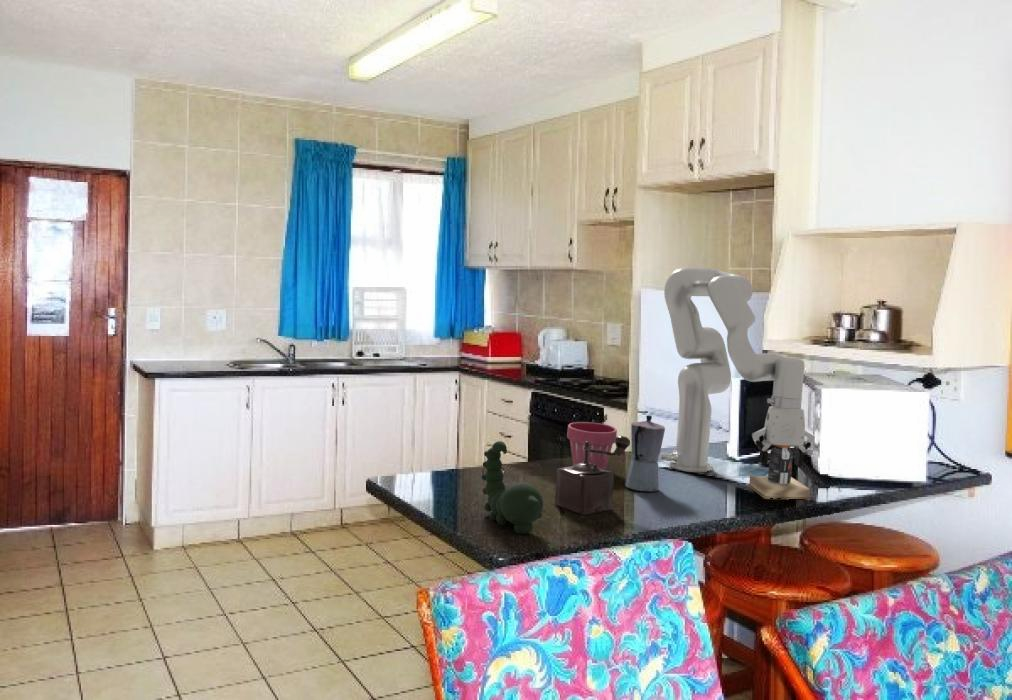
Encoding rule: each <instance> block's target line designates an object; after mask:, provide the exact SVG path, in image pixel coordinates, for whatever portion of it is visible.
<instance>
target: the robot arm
mask: <svg viewBox="0 0 1012 700" xmlns="http://www.w3.org/2000/svg"><path fill="white" fill-rule="evenodd" d="M663 290H664V293H663V295H664V300H665V304H666V307H667V310H668V314H669V318H670V324H671V328H672V333H673V338H674V343H675V346H676V350H677V351H676V352H677V353H678V355H679V356H680V358H682V359H685V360H700V362H694V363H689V364H687V365H685V366H684V367H682V369H681V370H680V371H679V373H678V377H677V387H678V395H679V398H678V399H679V401H678V402H679V404H678V417H677V419H678V421H677V433H676V435H677V436H676V442H675V444H676V445H675V446H676V447H675V449H673V450H672V452H669V453H665V452H660V454H659V456H658V459H659V460H664V461H667V462H669V466H670V467H671V468H672V469H675V470H677V471H682V472H688V473H708V472H707V471H709V472H711V471H713V465H712V464H711V463H709V462H708V458H709V449H710V448H709V447H710V434H711V425H712V404H711V401H710V397H709V395H712V394H713V395H715V394H720V393H723V392H724V393H725V391H727V389H728V388H729V387H730V385H731V382H732V372H731V367H730V361H729V358H728V355H729V357H730V360H731V361H732V363H733V366H734V367H735V369H736V371H737V373H738V374H739V375H740V376H741V378H743V379H744V380H745V381H748V382H752V383H754V382H756V383H757V382H762V381H763V382H764V381H765V382H767V381H768V382H769V381H773V387H772V395H771V397H770V398H769V397H768V398H767V399H766V403H767V404H770V405H771V406H768V410H767V413H766V417H765V422H764V427H763V428H761V429H759V430H757V431H755V432H752V433H751V437H752V440H753V441H754V444H755V445H756V446H757V448H758V449H759V463H760V464H761V465H763V466H765V467H766V466H768V459H769V451H767V450H768V449H769V448H770V447H771V446H775V445H777V446H790V447H796V449H795V453H794V454H795V455H794V465H795V466H797V467H800V468H801V467H802V464H803V463H804V457H805V456H804V455H805V453H806V452H807V450H808V449H809V448H810V447H811V446H812V444H813V442H814V441H815V438H816V437H815V435H813V434H811V433H810V432H809V431H807V430H806V423H805V422H806V421H805V419H806V418H805V410H804V409H803V408H802V396H803V387H804V377H805V366H806V365H805V362H804V360H803V359H801V358H797V357H790V356H789V357H788V356H787V357H786V356H783V355H780V354H776V353H772V352H771V353H770V352H769V353H768V352H767V353H757V352H755V350H754V348H753V346H752V345H751V342H750V340H749V336H748V332H749V331H748V330H749V328H750V327H752V326H753V325H754V323H755V322H756V316H755V313H754V312H753V310H752V308H751V307H750V305H749V303H748V302H749V301H750V300H751V299H752V297H753V292H754V291H753V286H752V283H751V282H750V280H749V279H748V278H747V277H745V276H743V275H739V274H736V273H730V272H727V271H725V270H724V271H723V270H719V269H715V268H710V267H709V268H708V267H707V268H706V267H693V266H692V267H691V266H690V267H689V266H688V267H681V268H678V269H675V270H674V271H672V272H671V274H670V275H669V276H668V277H667V279H666V281H665V284H664V289H663ZM692 297H709V300H710V301H711V303H712V304H713V307H714V308H715V310H716V312H717V313H718V315H719V317H720V319H721V321H722V323H723V324H724V326H725V329H726V330H727V336H726V344H725V340H724V338H723V336H722V334H721V333H720V332H719V330H717V329H715V328H713V327H709V326H705V327H703V325H702V322H701V317H700V312H699V309H698V308H697V306H696V304H695V303H694V301H693V300H692ZM726 346H727V347H726ZM727 352H728V353H727ZM762 436H763V440H762V441H760V440H761V439H760V437H762ZM805 439H806V440H805ZM710 470H711V471H710Z"/></svg>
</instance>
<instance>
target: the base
mask: <svg viewBox="0 0 1012 700" xmlns="http://www.w3.org/2000/svg"><path fill="white" fill-rule="evenodd" d="M747 487H749V488H750V489H751V490H753V491H754V492H755V493H756V494H757V495H759V496H760V497H761V498H763V500H764V499H765V500H771V499H770V498H773V499H772V500H778V499H777V498H781V499H780V500H789V499H810V500H811V497H810V488H809V487H808V486H806V485H804V484H803V483H801V482H800V481H798V480H797V479H795V478H793V477H792V476H791V481H790V483H789V484H776V483H772V482H770V481H769V480H768V475H749V481H748V483H747Z"/></svg>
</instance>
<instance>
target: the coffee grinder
mask: <svg viewBox="0 0 1012 700" xmlns="http://www.w3.org/2000/svg"><path fill="white" fill-rule="evenodd" d="M614 442H615V443H614V444H615V449H614V451H613V452H612V451H611V452H607V451H603V450H594V449H593V450H592V449H590V448H589V445H590V443H589V442H587V441H586V442H585V443H584V445H585V447H584V450H585V458H584V462H581V463H578V464H576V465H574V466H573V465H571V466H565V467H559V468H557V469H556V483H555V497H554V505H555V506H557V507H559V508H561V509H564V510H567V511H569V512H572V513H573V514H574V513H575V514H577V515H580V516H587V515H588V516H589V515H594V514H598V513H602V512H605V511H609V510H612V509H613V495H614V494H613V493H614V480H615V479H614V478H615V472H613V471H610V470H607V469H605V470H604V469H601V468H598V467H597V465H595V464H594V463H589V461H588V452H589V451H590V452H591V453H600V454H605V455H609V456H617V457H619V456H626V453H625V452H626V450H627V448H628V447H630V445H631V440H630V439H629V437H627V436H624V435H617V436H616V438H615V441H614Z"/></svg>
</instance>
